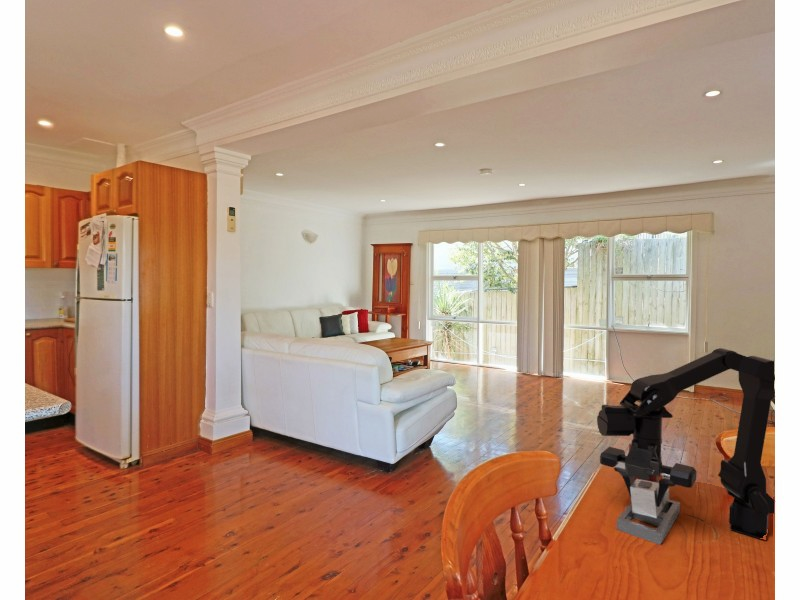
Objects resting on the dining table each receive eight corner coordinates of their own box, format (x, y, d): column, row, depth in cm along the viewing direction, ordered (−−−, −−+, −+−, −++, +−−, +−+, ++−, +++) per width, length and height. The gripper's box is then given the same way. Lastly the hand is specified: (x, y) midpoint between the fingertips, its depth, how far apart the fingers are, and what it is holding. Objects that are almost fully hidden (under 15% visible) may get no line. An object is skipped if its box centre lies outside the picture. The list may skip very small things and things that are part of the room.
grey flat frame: (679, 512, 113) (680, 502, 113) (660, 545, 100) (660, 533, 100) (639, 500, 119) (640, 490, 119) (616, 529, 106) (616, 518, 106)
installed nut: (668, 512, 113) (669, 487, 112) (663, 521, 109) (664, 495, 109) (645, 505, 116) (646, 481, 116) (640, 513, 113) (640, 488, 112)
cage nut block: (662, 508, 106) (659, 481, 106) (656, 518, 103) (654, 490, 103) (639, 503, 110) (636, 477, 110) (632, 512, 106) (629, 485, 106)
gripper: (592, 435, 105) (590, 501, 106) (687, 457, 92) (684, 532, 93) (608, 423, 113) (607, 484, 114) (698, 441, 101) (695, 511, 102)
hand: (645, 502), depth 106 cm, fingers closed on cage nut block, 5 cm apart
